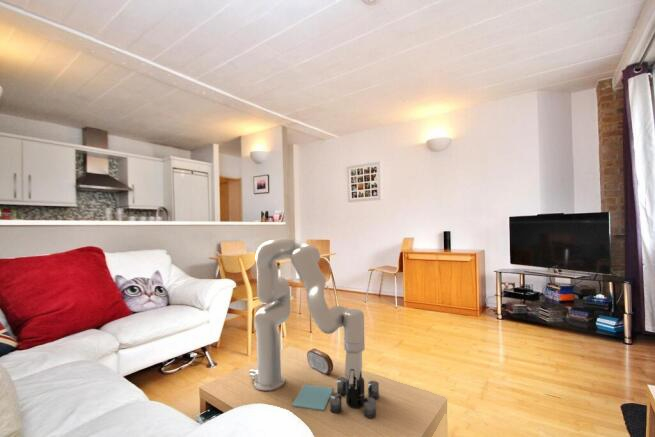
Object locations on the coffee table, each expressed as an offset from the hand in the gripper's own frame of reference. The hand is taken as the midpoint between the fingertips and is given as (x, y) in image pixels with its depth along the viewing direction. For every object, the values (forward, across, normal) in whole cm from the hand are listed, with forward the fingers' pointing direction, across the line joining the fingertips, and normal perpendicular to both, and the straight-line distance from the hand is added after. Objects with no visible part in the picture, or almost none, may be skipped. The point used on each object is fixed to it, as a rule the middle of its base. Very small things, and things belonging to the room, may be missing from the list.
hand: (355, 392), depth 112 cm
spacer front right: (+4, +6, +6) cm, 9 cm away
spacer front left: (+4, +6, -6) cm, 9 cm away
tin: (+4, -21, -20) cm, 29 cm away
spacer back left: (+4, -6, -6) cm, 9 cm away
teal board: (+4, 0, -16) cm, 16 cm away
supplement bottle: (+4, 0, 0) cm, 4 cm away
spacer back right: (+4, -6, +6) cm, 9 cm away
